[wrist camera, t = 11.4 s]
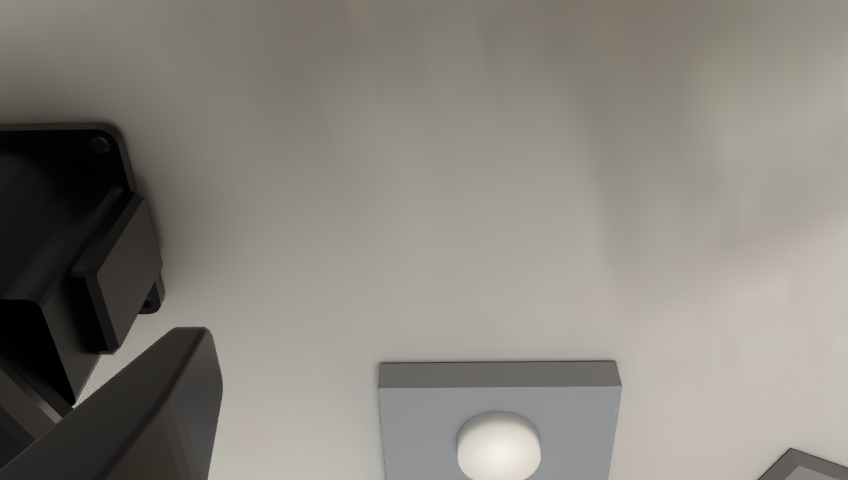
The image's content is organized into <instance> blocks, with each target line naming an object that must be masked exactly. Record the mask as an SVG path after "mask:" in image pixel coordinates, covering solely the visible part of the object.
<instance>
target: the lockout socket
mask: <svg viewBox="0 0 848 480" xmlns="http://www.w3.org/2000/svg"><path fill="white" fill-rule="evenodd" d="M759 480H848V468H845V467H842V466H839V465H836V464H834V463H831V462H828V461H825V460H822V459H819V458H816V457H813V456H810V455H808V454H805V453H802V452H799V451H796V450H793V449H790V450H789V451H788V452H787V453H786V454H785V455H784V456H783V457H782V458H781V459H780V460H779V461H778V462H777V463H776V464H775V465H774V466H773V467H772V468H771V469H770V470H769V471H768V472H767V473H766V474H765V475H763V476H762V477H761V478H760V479H759Z"/></svg>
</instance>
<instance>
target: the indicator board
mask: <svg viewBox="0 0 848 480" xmlns="http://www.w3.org/2000/svg"><path fill="white" fill-rule="evenodd" d="M621 390H622V384H621V380H620V377H619V373H618V369H617V366H616V362H615V361H605V362H493V363H381V364H380V374H379V385H378V392H379V404H380V416H381V428H382V440H383V452H384V464H385V475H386V480H608V477H609V471H610V464H611V457H612V451H613V444H614V437H615V431H616V424H617V417H618V411H619V404H620V397H621Z"/></svg>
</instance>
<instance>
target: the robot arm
mask: <svg viewBox="0 0 848 480" xmlns="http://www.w3.org/2000/svg"><path fill="white" fill-rule="evenodd" d="M97 137H101V138H104V139H105V140H106V141H107V142H108V143H109V145H110V147H104V146H102V145H101V144H99V143H98V141H97ZM161 268H162V259H161V255H160V252H159V248H158V244H157V240H156V236H155V232H154V229H153V225H152V221H151V217H150V213H149V209H148V206H147V202H146V199H145V197H144V196H143V195H142V194H141V193H140V192H138V191H137V189H136V186H135V182H134V178H133V174H132V171H131V167H130V163H129V159H128V155H127V152H126V148H125V144H124V140H123V138H122V136H121V133H120V132H119V131H118V130H117V129H116V128H115V127H113V126H111V125H109V124H105V123H67V124H15V125H0V480H207V479H208V473H209V468H210V462H211V456H212V451H213V445H214V440H215V434H216V428H217V423H218V417H219V412H220V406H221V400H222V392H223V382H222V375H221V370H220V366H219V362H218V357H217V353H216V349H215V344H214V340H213V336H212V334H211V332H210V330H209V329H207V328H206V327H176V328H173V329H172V330H170V331H169V332H167V333H166V334H165V335H164V336H163V337H161V338H160V339H159V340H158V341H156V342H155V343H154V344H153V345H152V346H150V347H149V348H148V349H147V350H145V351H144V352H143V353H142V354H141V355H139V356H138V357H137V358H136V359H134V360H133V361H132V362H131V363H130V364H128V365H127V366H126V367H125V368H123V369H122V370H121V371H120V372H119V373H117V374H116V375H115V376H114V377H112V378H111V379H110V380H109V381H108V382H106V383H105V384H104V385H103V386H101V387H100V388H99V389H98V390H97V391H95V392H94V393H93V394H92V395H90V396H89V397H88V398H87V399H85V400H84V401H83V402H82V403H81V404H79V405H78V406H77V407H76V408H74V409H73V408H72V407H71V406H73V405H74V404H75V403H76V401H77V400H78V398H79V396H80V394H81V392H82V390H83V388H84V387H85V385H86V383H87V381H88V379H89V377H90V375H91V374H92V372H93V370H94V368H95V366H96V364H97V362H98V361H99V359H100V357H101V355H113V354H114V353H115V352H116V351H117V350H118V349H119V348H120V347H121V346H122V344H123V342H124V340H125V338H126V336H127V334H128V332H129V330H130V328H131V326H132V324H133V322H134V320H135V319H136V317H137V315H138V314H152V313H155V312H157V311H158V310H159V308H160V307H161V305H162V303H163V300H164V291H163V287H162V283H161V280H160V276H159V272H160V270H161ZM147 296H148V297H150V298H151V299H152V300H146V297H147Z"/></svg>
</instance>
